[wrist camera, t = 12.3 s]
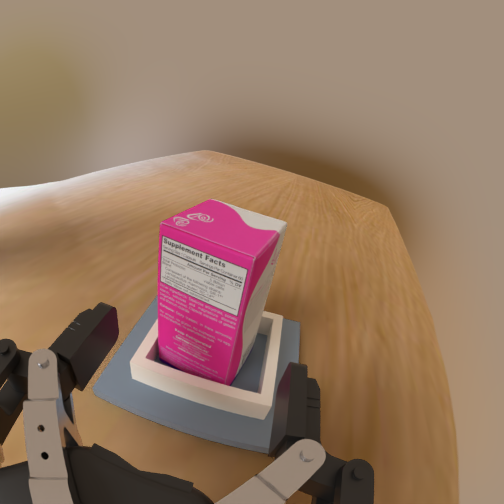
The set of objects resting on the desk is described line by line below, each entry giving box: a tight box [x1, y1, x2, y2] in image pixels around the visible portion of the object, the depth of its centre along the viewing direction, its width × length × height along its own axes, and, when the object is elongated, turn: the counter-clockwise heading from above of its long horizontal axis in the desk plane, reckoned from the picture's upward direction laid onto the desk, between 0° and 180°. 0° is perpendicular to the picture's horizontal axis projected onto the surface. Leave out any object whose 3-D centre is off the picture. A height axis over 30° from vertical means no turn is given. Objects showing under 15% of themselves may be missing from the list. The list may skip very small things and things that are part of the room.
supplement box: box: [158, 199, 287, 386], centre depth 19 cm, size 6×6×12 cm
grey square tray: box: [93, 295, 300, 454], centre depth 21 cm, size 14×14×3 cm
